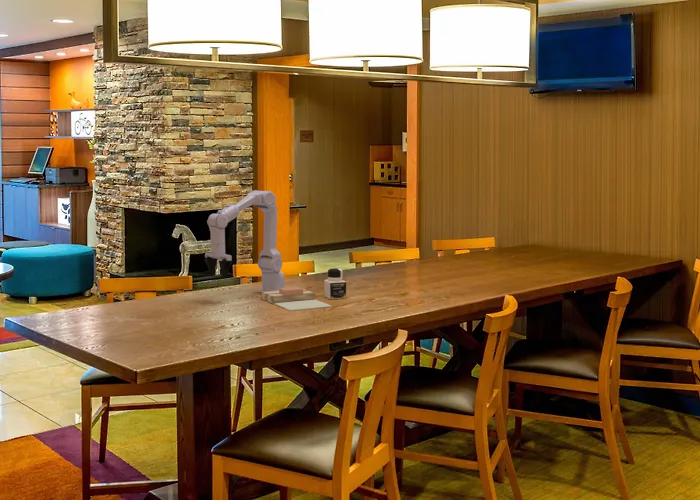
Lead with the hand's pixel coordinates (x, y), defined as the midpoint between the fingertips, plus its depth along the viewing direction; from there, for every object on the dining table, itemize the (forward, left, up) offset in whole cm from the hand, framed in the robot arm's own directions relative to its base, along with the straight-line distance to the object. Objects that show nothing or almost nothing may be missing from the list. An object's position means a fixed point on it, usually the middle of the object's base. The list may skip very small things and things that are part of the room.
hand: (218, 276), depth 367 cm
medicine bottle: (-38, +29, -10) cm, 49 cm away
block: (-20, +21, -7) cm, 30 cm away
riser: (-21, +18, -10) cm, 30 cm away
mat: (-16, +32, -10) cm, 37 cm away
